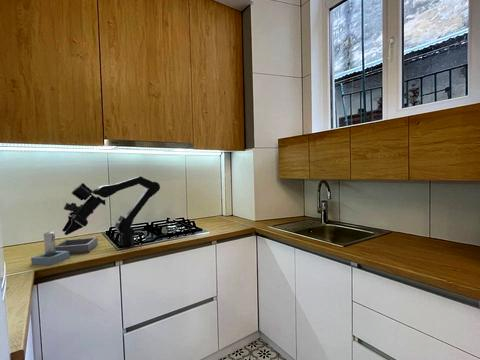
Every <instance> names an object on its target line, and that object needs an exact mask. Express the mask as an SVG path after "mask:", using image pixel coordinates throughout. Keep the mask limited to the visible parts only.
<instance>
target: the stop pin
mask: <svg viewBox="0 0 480 360" xmlns="http://www.w3.org/2000/svg"><path fill="white" fill-rule="evenodd" d="M43 241H44V242H43V243H44V253H45V257H52V256H54V255H56V234H55V231H47V232H44V233H43Z"/></svg>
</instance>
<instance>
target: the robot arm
mask: <svg viewBox="0 0 480 360" xmlns="http://www.w3.org/2000/svg"><path fill="white" fill-rule="evenodd" d="M138 185H140V186H142V187H143V191H142V194H141V195H140V196H139V198H138V199H137V201H135V203H134V204H133V205H132V207H131V208H130V209H129V211H128V212H127V213H126V214H125V215H124V216H123V215H120V216H119V218H118V219H117V220H116V221H115V225H114V226H115V230H116V231H117V232H119V246H120V245H122V246H124V247H123V248H131V247H133V246H135V245H134V243H135V230H134V229H133V228H132V225H133V222H134V219H135V218H136V217H137V215H138V214H139V213H140V211H141V210H142V209H143V207H144V206H145V205H146V204H147V202H148V201H149V200H150V198H152V197H153V196H154V195H156V194H157V193H158V192H159V191H160V190H161V186H160V184H159V182H157V181H152V180H149V179H148V178H145V177H143V176H140V175H139V176H136V177H133V178H130V179H127V180H124V181H121V182H117V183H114V184H113V183H112V184H106V185H100V186H98V188H95V189H94V188H93V189H91V188H90V187H88V186H87V185H86V184H85V183H84V182H83V183H81V184H79V185H78V186H76V187H75V188H74V189H73V190H72V191H71V194H72V196H74V197H76V198H77V199H78V200H79V201H84V203H82V204H80V205H77V203H74V202H71V203H69V202H66V203H65V205H64V207H63V210H64V211H69V213H68V215H67V219H68V220H67V222H66V223H65V225H64V227H63V228H62V231H61V232H64V236H68V235H70V234H72V233H74V232H76V231H78V230H80V229H83V228H84V227H86V226H87V225H88V224H89V222H88V217H90V215H93V213H94V211H95V210H96V209H97V208H98V207H99V206H100V205H103V206H106V205H107V204H106V199H105V198H109V197H111V196H113V195H114V194H116V193H118V192H120V191H122V190H124V189H129V188H131V187H134V186H138ZM94 195H96V196H94ZM97 195H98V196H97ZM102 198H103V199H102Z"/></svg>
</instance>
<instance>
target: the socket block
mask: <svg viewBox="0 0 480 360" xmlns="http://www.w3.org/2000/svg"><path fill="white" fill-rule="evenodd" d="M70 256H71V255H70V254H69V251H56V255H54V256H52V257H45V252H43V253H41V254H38V255H35V256H32V257H31V258H30V262H31V265H32V266H33V265H34V266H53V265H55V264H58V263H60V262H62V261H64V260H67V259H69V258H71V257H70Z"/></svg>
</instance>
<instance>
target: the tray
mask: <svg viewBox="0 0 480 360" xmlns="http://www.w3.org/2000/svg"><path fill="white" fill-rule="evenodd" d="M98 239H99V238H98V236H97V237H85V238H83V237H82V238H73V239H64V240H62V241H61V242H59V243H58V244H55V246H56V251H69V255H76V254H87V253H90V252H91V251H93V250H94V248H96V247H97V246H98V245H99V240H98Z"/></svg>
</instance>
